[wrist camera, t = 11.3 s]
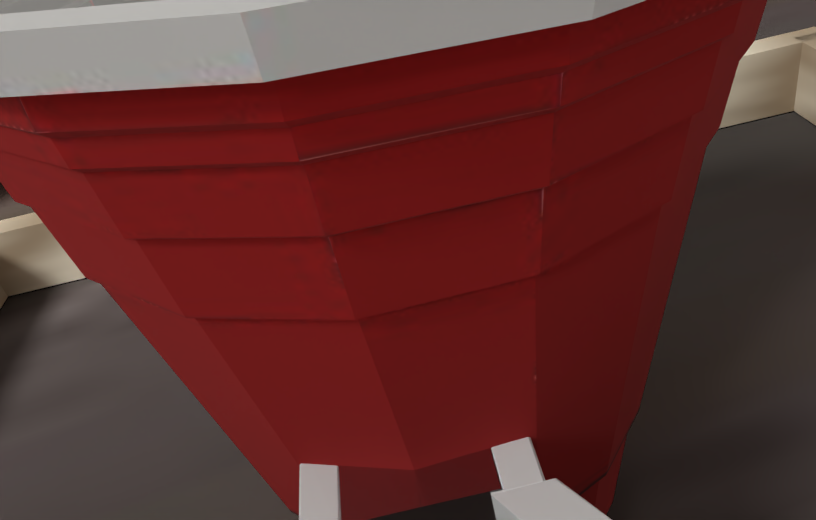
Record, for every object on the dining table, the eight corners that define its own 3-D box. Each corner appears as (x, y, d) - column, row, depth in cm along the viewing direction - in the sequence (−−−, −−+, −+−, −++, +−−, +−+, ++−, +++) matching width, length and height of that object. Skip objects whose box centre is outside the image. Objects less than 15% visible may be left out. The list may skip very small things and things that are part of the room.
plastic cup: (909, 585, 12) (1271, -338, 5) (301, 946, 10) (-579, 221, 3) (560, 267, 20) (513, -223, 14) (200, 420, 18) (-71, -69, 11)
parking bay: (-448, 977, 11) (-611, 939, 10) (-9, 286, 26) (-47, 231, 25) (1526, 546, 10) (1664, 437, 9) (805, 94, 26) (814, 26, 24)
